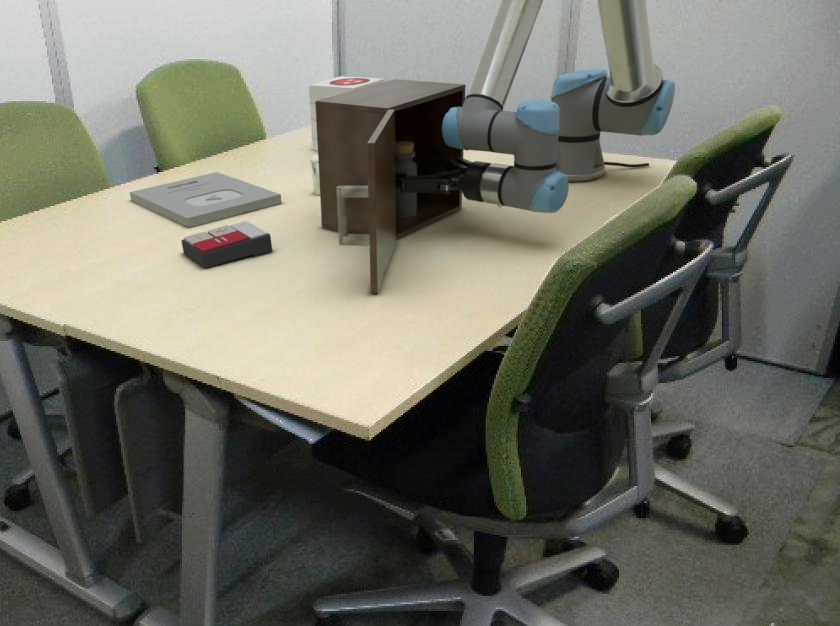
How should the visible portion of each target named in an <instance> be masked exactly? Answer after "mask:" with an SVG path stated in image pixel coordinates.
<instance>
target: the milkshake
mask: <svg viewBox="0 0 840 626" xmlns="http://www.w3.org/2000/svg"><path fill="white" fill-rule="evenodd" d="M309 164H310V165H309V166H310V170H311V171H310V172H311V178H312V186H313V193H314V195H317V196H318V195H319V196H320V181H319V162H318V154H313V155H312V156H311V157H310V158H309Z"/></svg>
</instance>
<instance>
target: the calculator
mask: <svg viewBox="0 0 840 626" xmlns="http://www.w3.org/2000/svg"><path fill="white" fill-rule="evenodd" d="M181 247H182V252H183V254H184V255H185V256H186V257H188V258H189V259H190V260H192V261H193V262H194V263H196V264H197V265H199V266H200V267H201V268H202V269H209V268H211V267H216V266H218V265H221V264H225V263H228V262H232V261H235V260H238V259H241V258H245V257H248V256H255V257H258V256H262V255H265V254H268V253H272V252H273V244H272V238H271V234H270V233H268V232H267V231H265V230H263V229H261V228H259V227H258V226H256V225H254V224H253V223H250V222H249V221H247V220H243V221H240V222H236V223H233V224H230V225H229V224H226V225H222V226H218V227H215V228H212V229H208V230H207V232H206V231H201V232H197V233H194V234H190V235H186V236H184V237H183V239H181Z"/></svg>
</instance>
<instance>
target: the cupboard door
mask: <svg viewBox="0 0 840 626" xmlns="http://www.w3.org/2000/svg"><path fill="white" fill-rule="evenodd" d="M367 160H368V186H337V208H338V231H339V232H338V245H339V246H342V247H343V246H345V247H347V246H348V247H349V246H350V247H353V246H354V247H356V246H357V247H358V246H360V247H369V268H370V269H369V273H370V274H369V275H370V279H369V280H370V294H372V295H378V294H379V292H380V288H381V287H382V286H381V285H382V283H383V280H384V277H385V275H386V271H387V269H388V266H389V264H390V261H391V258H392V256H393V252H394V250H395V247H396V244H397V240H396V202H395V110H388V111H387V113H386V114H385V116H384V117H383V119H382V120H381V122H380V124H379V125H378V127H377V128H376V130H375V131H374V133H373V135H372V136H371V138H370V139H369V141H368V143H367ZM347 198H368V200H369V234H348V223H347Z"/></svg>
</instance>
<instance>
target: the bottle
mask: <svg viewBox="0 0 840 626" xmlns="http://www.w3.org/2000/svg"><path fill="white" fill-rule="evenodd" d="M413 147H414V142H411V141H397V142H395V172H397V173H404V172H406V174H407V176H417V164H416V163H415V162H413V161H412V158H414V157H415V151H413ZM395 202H396V218H410V217H413V216H415V215H416V214H417V193H402V192H400V187H395Z"/></svg>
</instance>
